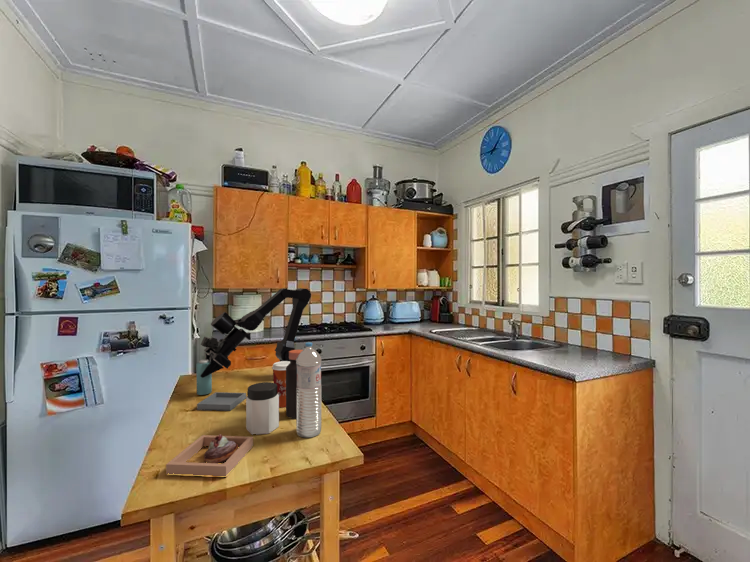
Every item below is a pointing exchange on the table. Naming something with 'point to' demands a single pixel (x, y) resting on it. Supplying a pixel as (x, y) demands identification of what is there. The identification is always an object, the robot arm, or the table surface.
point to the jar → (262, 408)
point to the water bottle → (308, 392)
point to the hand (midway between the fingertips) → (199, 375)
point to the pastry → (220, 450)
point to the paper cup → (280, 380)
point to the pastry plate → (215, 469)
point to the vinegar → (291, 384)
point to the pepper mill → (203, 383)
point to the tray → (221, 401)
